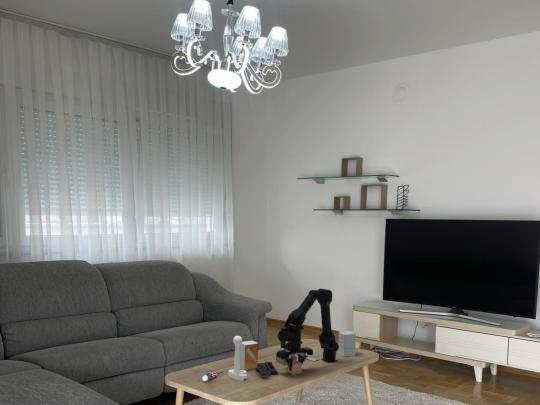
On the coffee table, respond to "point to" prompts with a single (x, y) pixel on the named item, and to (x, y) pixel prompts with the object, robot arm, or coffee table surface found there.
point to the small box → (248, 355)
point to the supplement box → (346, 343)
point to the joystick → (237, 362)
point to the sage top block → (282, 349)
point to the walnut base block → (283, 361)
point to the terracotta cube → (296, 367)
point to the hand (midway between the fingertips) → (294, 370)
